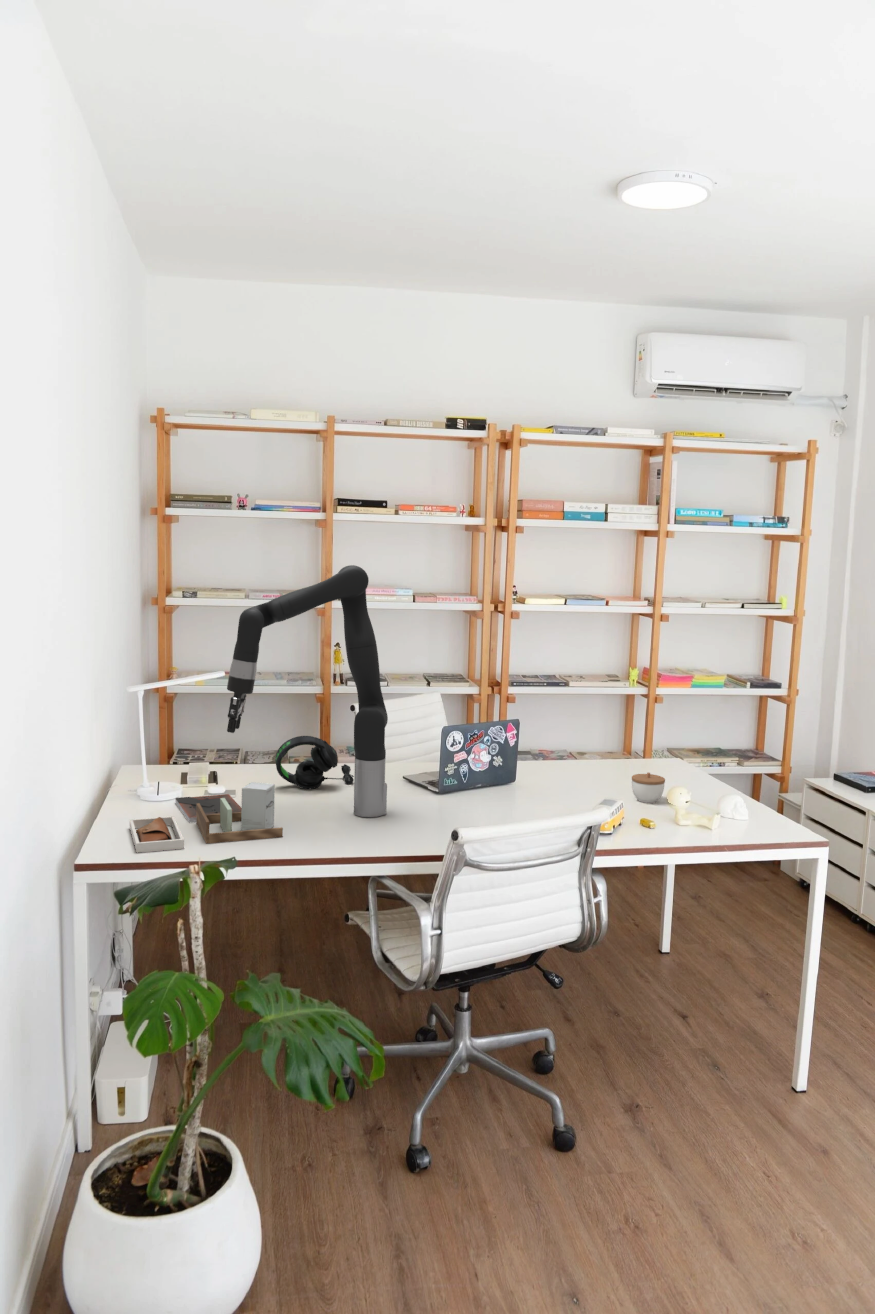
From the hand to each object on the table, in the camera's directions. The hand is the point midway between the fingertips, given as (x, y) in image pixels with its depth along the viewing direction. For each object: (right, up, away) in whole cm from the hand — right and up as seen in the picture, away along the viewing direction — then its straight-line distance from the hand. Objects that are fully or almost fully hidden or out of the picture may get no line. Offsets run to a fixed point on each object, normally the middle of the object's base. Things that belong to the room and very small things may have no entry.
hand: (233, 730), depth 282 cm
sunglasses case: (-18, -29, -20) cm, 39 cm away
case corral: (-17, -28, -19) cm, 38 cm away
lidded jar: (+129, -26, +36) cm, 136 cm away
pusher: (0, -27, -11) cm, 30 cm away
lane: (+4, -27, -10) cm, 29 cm away
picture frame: (-9, -26, +9) cm, 29 cm away
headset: (+19, -22, +40) cm, 50 cm away
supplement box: (+9, -28, -8) cm, 30 cm away
